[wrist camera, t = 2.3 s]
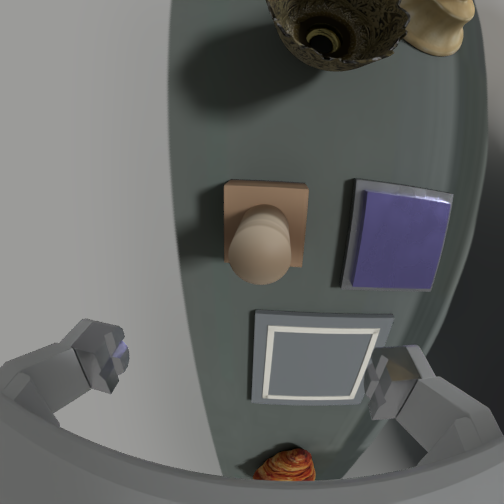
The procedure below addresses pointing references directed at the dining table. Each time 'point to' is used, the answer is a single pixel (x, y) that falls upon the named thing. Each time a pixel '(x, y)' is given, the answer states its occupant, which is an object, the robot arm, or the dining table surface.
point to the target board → (314, 356)
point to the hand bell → (437, 24)
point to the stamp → (264, 228)
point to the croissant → (287, 467)
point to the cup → (340, 30)
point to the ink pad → (394, 236)
